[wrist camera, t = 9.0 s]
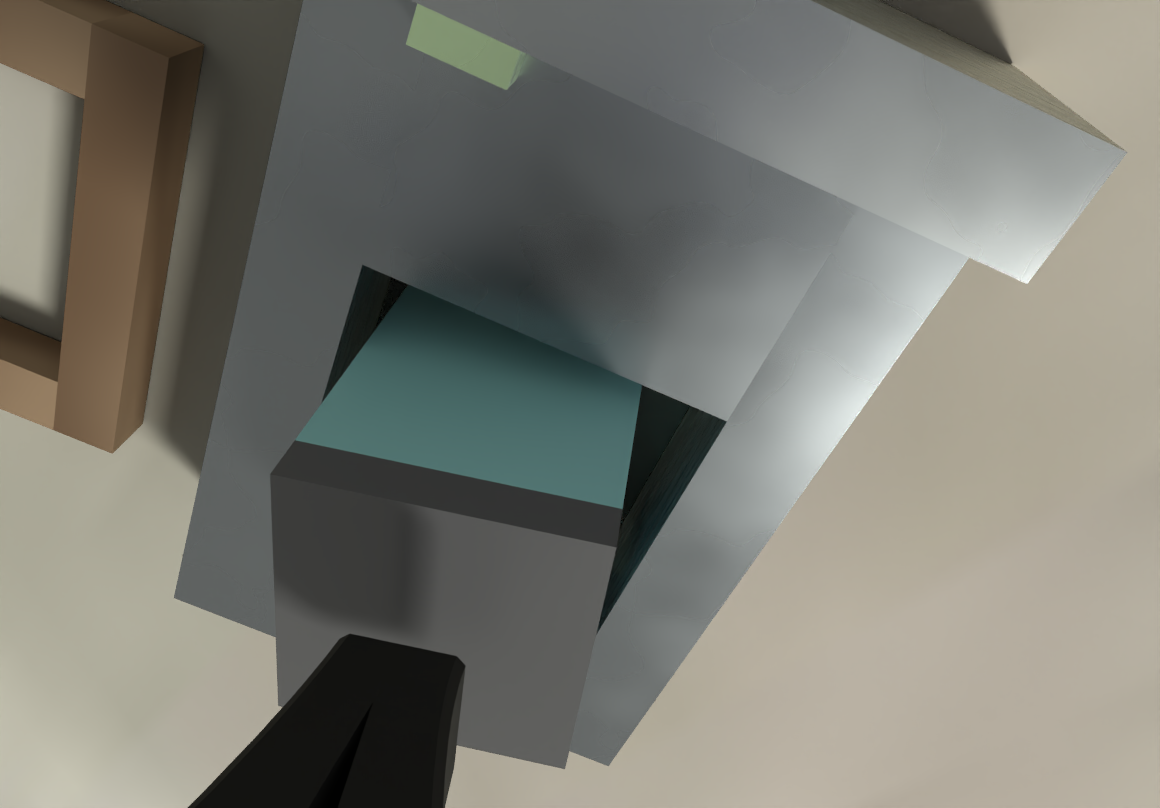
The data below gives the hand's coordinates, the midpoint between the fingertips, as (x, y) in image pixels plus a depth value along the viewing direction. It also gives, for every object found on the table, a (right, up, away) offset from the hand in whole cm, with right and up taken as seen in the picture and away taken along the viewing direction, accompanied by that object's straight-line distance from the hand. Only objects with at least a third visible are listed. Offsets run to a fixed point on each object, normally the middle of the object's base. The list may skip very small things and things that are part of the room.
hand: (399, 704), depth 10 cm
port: (+1, +5, +5) cm, 7 cm away
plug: (+1, +3, +6) cm, 7 cm away
